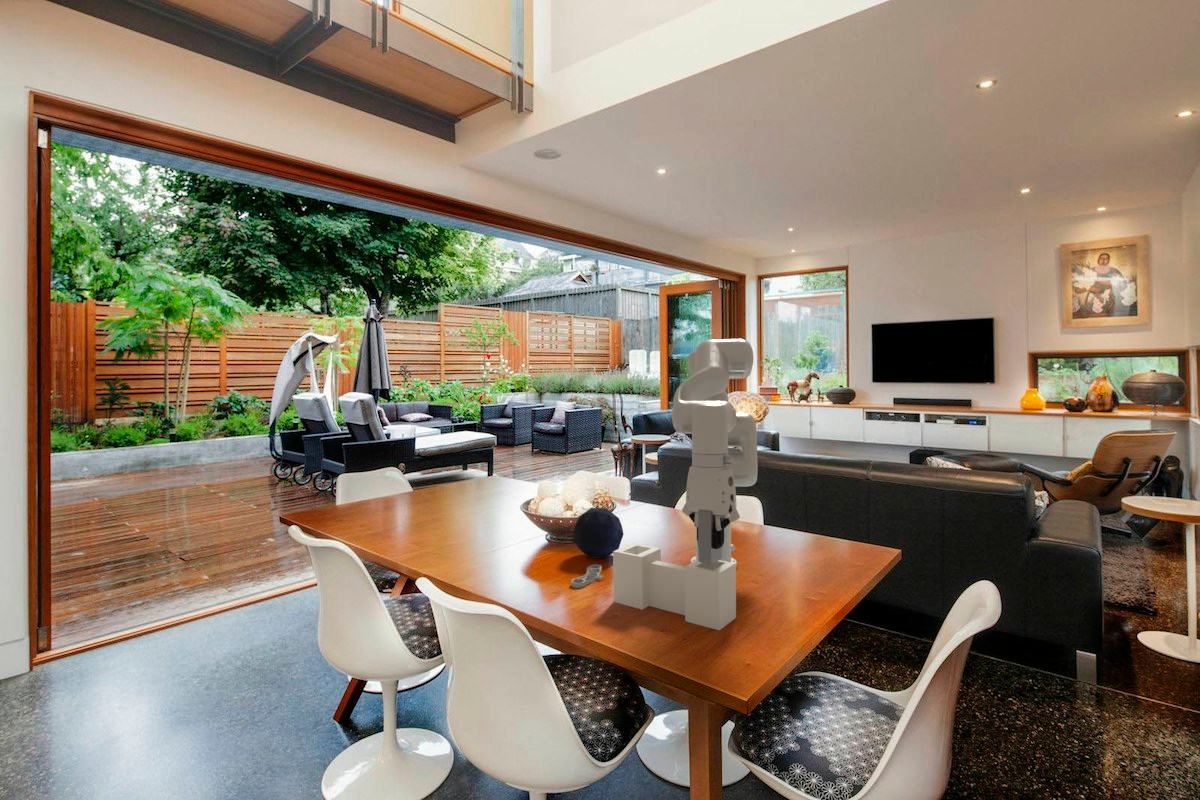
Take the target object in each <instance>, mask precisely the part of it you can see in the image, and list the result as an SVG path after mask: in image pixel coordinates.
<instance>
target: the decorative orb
mask: <svg viewBox="0 0 1200 800" xmlns="http://www.w3.org/2000/svg"><path fill="white" fill-rule="evenodd" d="M623 537H624V530H623V525H622V523H621V520H620V517H618V516H617V515H615V514H614V513H613V512H612V511H611V510H609V509H608V508H605V507H591V508H589V509H587V510H586V511H585V512H583V513H582V514H581V515H579V516H578V517H577V520H576V521H575V525H574V528H573V542H574V543H575V544H576V547H577V548H578V549H579V550H580V551H581V552H582V553H583V554H584V555H585V556H587V558H588V557H589V558H591V559H592V558H593V559H607V558H608V557H610V556H611V555H613V551H615V550H618V549H620V545H621V543H622V539H623Z"/></svg>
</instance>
